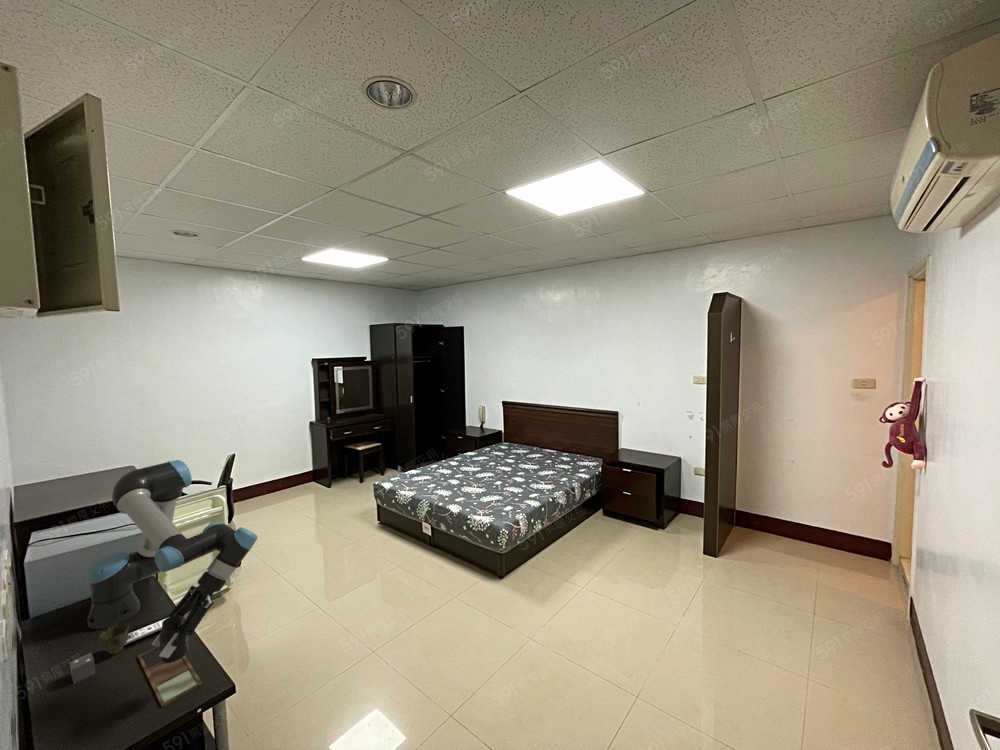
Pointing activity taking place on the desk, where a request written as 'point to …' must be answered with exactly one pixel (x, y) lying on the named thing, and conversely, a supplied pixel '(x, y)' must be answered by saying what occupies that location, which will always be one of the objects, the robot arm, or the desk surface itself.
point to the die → (82, 668)
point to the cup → (114, 638)
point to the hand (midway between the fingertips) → (159, 651)
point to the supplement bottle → (167, 633)
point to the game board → (170, 678)
